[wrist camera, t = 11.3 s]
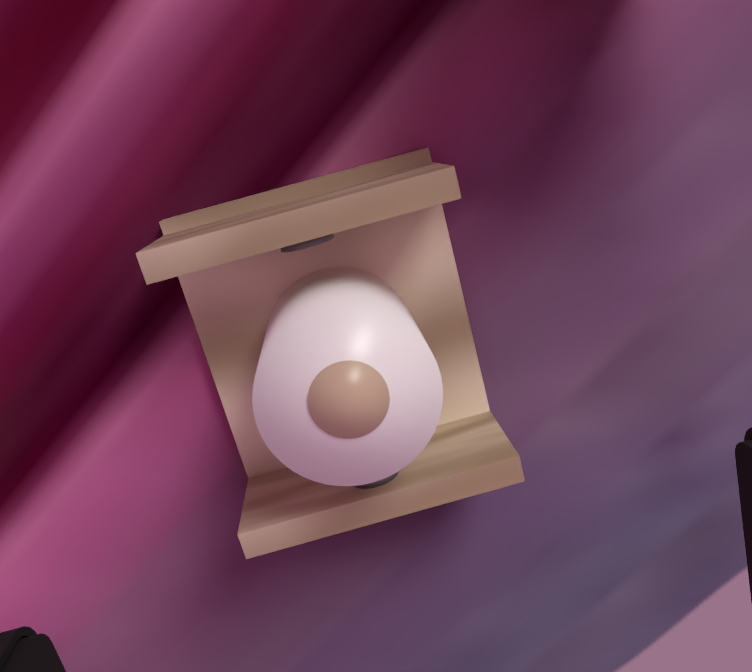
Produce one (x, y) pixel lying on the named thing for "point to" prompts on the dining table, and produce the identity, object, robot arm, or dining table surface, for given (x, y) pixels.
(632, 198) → the dining table surface
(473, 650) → the dining table surface
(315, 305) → the white rounded cylinder
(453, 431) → the holder
